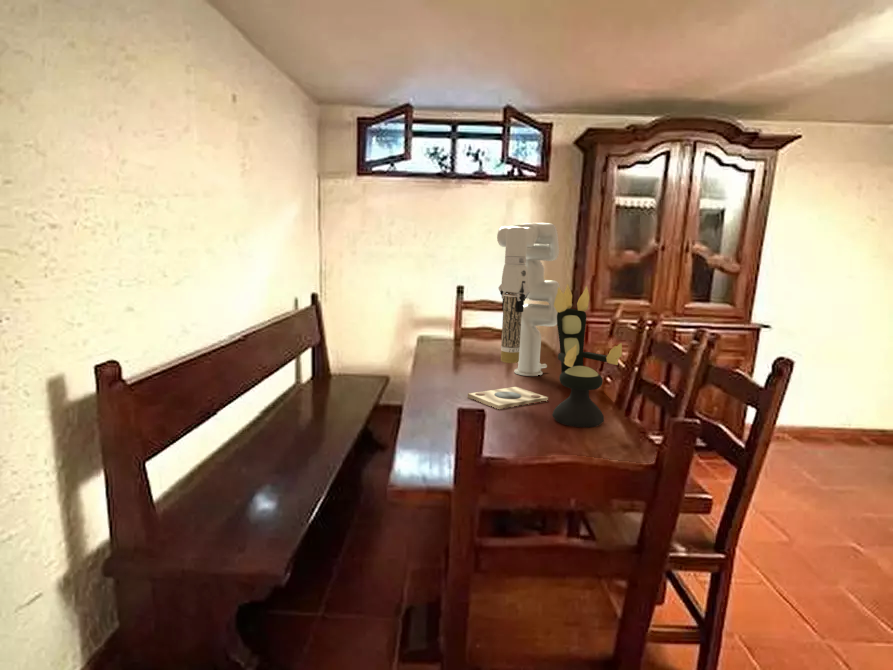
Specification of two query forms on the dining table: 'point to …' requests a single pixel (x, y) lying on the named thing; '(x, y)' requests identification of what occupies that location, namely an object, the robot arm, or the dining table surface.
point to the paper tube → (510, 330)
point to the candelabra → (578, 363)
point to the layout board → (507, 397)
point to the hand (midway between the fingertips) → (512, 310)
